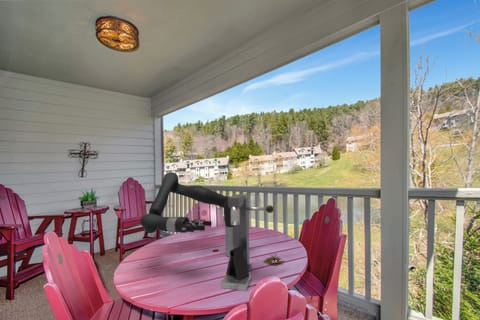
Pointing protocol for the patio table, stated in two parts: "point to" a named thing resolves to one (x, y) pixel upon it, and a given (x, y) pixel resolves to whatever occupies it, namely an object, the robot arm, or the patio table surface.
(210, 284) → the patio table surface
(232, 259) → the phone stand
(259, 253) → the patio table surface
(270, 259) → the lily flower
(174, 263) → the patio table surface
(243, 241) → the arbor press
